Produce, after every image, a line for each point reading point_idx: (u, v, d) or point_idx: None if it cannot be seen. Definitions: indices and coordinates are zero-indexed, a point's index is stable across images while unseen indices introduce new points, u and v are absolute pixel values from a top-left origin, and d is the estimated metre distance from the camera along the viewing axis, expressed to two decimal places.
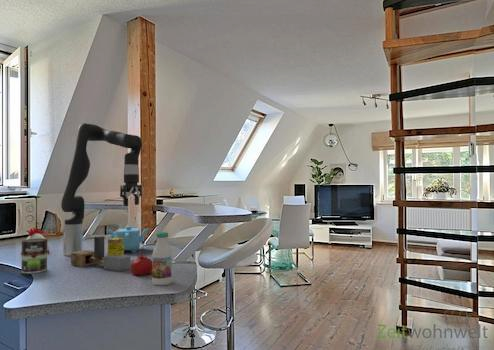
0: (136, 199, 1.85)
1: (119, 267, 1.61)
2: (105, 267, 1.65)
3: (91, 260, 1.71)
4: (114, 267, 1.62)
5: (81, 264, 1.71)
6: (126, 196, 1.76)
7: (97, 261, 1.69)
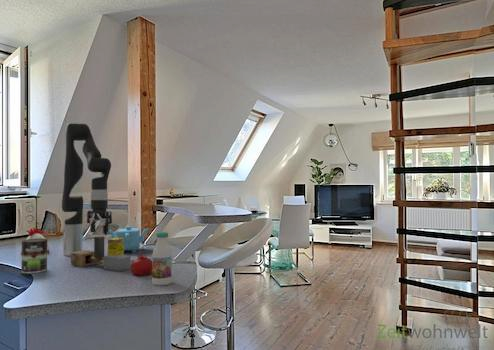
0: (93, 226, 1.73)
1: (119, 267, 1.61)
2: (105, 267, 1.65)
3: (91, 260, 1.71)
4: (114, 267, 1.62)
5: (81, 264, 1.71)
6: None
7: (97, 261, 1.69)
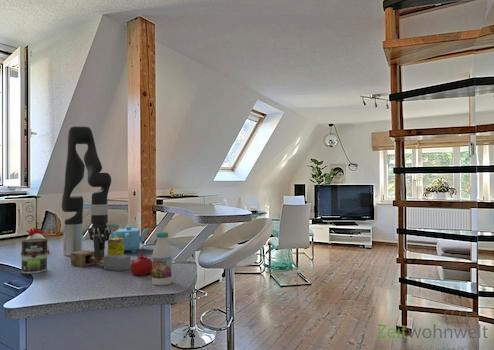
0: None
1: (119, 267, 1.61)
2: (105, 267, 1.65)
3: (91, 260, 1.71)
4: (114, 267, 1.62)
5: (81, 264, 1.71)
6: None
7: (97, 261, 1.69)
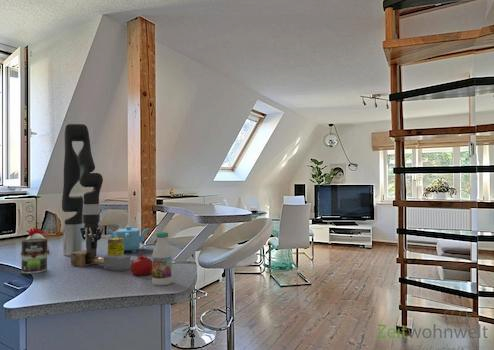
0: None
1: (119, 267, 1.61)
2: (105, 267, 1.65)
3: None
4: (114, 267, 1.62)
5: (81, 264, 1.71)
6: None
7: (89, 260, 1.72)
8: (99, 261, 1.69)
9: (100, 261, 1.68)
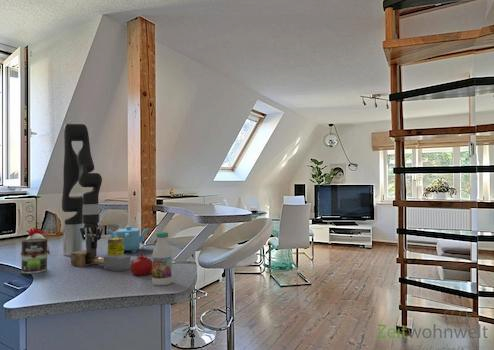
0: None
1: (119, 267, 1.61)
2: (105, 267, 1.65)
3: None
4: (114, 267, 1.62)
5: (81, 264, 1.71)
6: None
7: (89, 260, 1.72)
8: (99, 261, 1.69)
9: (100, 261, 1.68)
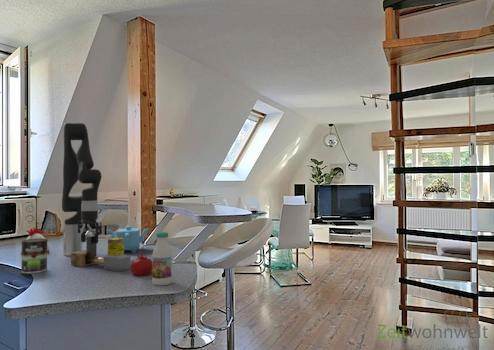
0: (84, 236, 1.76)
1: (119, 267, 1.61)
2: (105, 267, 1.65)
3: None
4: (114, 267, 1.62)
5: (81, 264, 1.71)
6: None
7: (89, 260, 1.72)
8: (99, 261, 1.69)
9: (100, 261, 1.68)
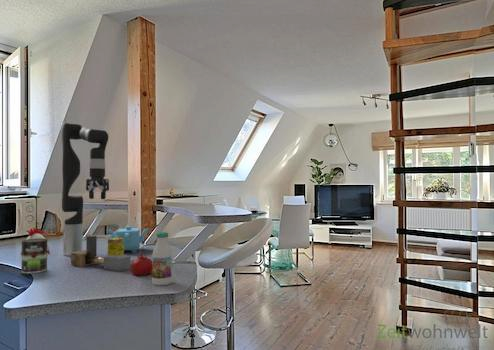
0: (92, 193, 1.87)
1: (119, 267, 1.61)
2: (105, 267, 1.65)
3: None
4: (114, 267, 1.62)
5: (81, 264, 1.71)
6: None
7: (89, 260, 1.72)
8: (99, 261, 1.69)
9: (100, 261, 1.68)
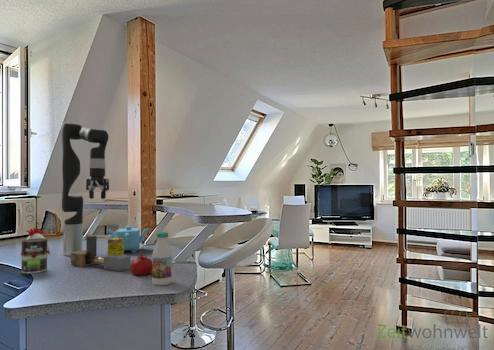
0: (92, 193, 1.87)
1: (119, 267, 1.61)
2: (105, 267, 1.65)
3: None
4: (114, 267, 1.62)
5: (81, 264, 1.71)
6: None
7: (89, 260, 1.72)
8: (99, 261, 1.69)
9: (100, 261, 1.68)
